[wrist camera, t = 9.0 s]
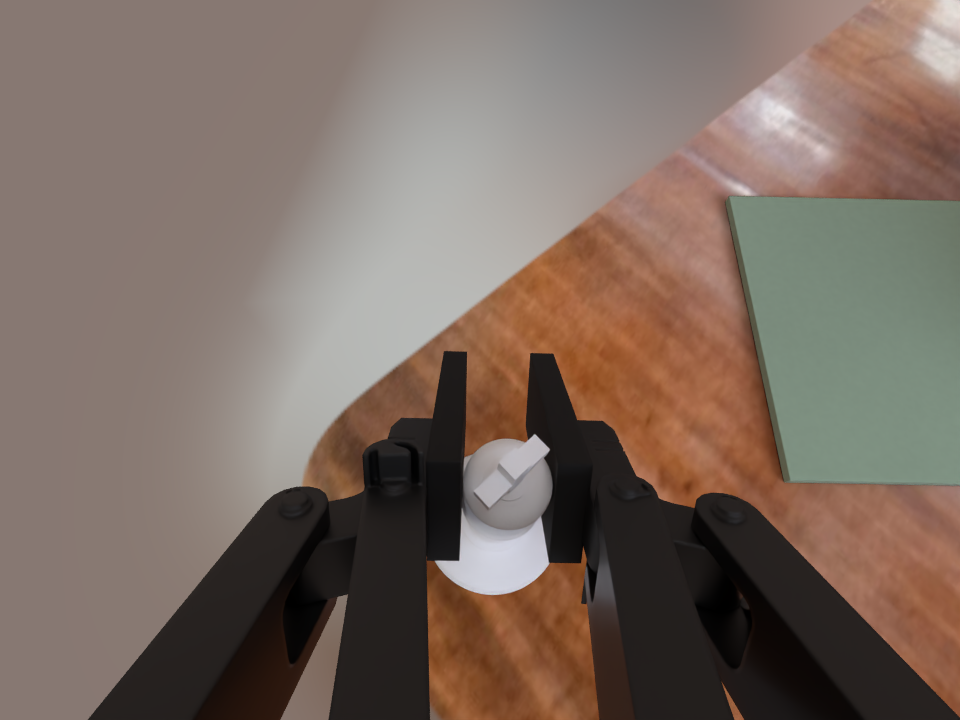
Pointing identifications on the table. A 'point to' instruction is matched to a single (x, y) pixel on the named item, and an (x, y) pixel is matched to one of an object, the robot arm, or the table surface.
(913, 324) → the mat
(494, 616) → the table surface
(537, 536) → the chess piece
